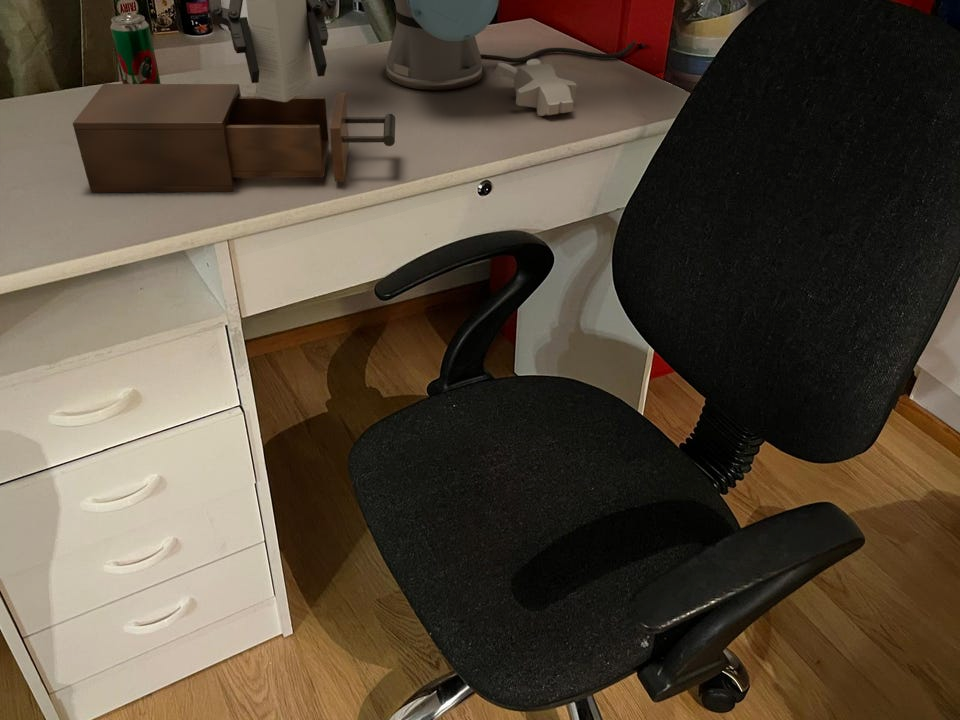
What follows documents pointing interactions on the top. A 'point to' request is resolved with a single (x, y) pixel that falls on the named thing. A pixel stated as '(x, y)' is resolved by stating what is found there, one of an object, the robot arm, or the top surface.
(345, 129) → the drawer
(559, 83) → the white blocky figurine
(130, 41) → the soda can
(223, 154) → the cabinet
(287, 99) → the cosmetic box
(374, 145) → the top surface
